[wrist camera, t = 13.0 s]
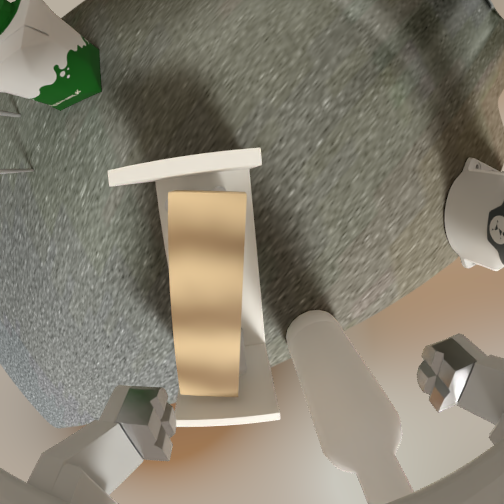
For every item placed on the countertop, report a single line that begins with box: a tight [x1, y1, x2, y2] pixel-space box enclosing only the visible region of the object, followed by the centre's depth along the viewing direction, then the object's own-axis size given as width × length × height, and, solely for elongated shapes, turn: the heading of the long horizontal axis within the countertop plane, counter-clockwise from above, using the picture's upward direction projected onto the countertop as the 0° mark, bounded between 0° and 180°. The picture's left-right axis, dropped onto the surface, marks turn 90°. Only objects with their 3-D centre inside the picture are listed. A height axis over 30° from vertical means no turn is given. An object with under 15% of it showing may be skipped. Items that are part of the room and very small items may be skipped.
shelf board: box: [168, 190, 247, 397], centre depth 25 cm, size 20×6×3 cm, turn 177°
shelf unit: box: [108, 148, 280, 427], centre depth 28 cm, size 11×25×14 cm, turn 5°
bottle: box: [286, 310, 414, 504], centre depth 24 cm, size 8×8×30 cm
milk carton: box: [0, 0, 102, 111], centre depth 17 cm, size 9×9×20 cm
